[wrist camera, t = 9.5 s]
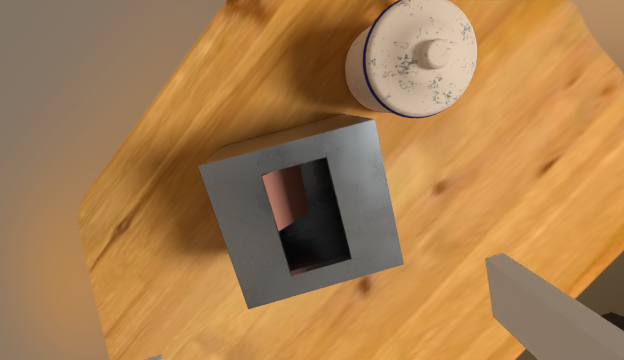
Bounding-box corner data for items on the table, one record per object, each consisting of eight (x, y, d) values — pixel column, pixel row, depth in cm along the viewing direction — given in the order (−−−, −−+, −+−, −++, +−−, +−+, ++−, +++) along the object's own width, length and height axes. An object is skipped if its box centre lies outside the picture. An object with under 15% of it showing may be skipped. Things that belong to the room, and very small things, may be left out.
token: (290, 210, 35) (251, 234, 31) (281, 160, 34) (238, 177, 29) (308, 212, 34) (270, 236, 29) (299, 160, 33) (257, 177, 28)
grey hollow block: (256, 249, 37) (248, 309, 26) (222, 146, 34) (198, 166, 23) (367, 218, 37) (403, 264, 27) (343, 113, 34) (374, 119, 24)
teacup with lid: (406, 126, 35) (467, 137, 24) (328, 96, 34) (355, 93, 23) (453, 13, 33) (544, -32, 22) (372, -25, 32) (425, -95, 20)
